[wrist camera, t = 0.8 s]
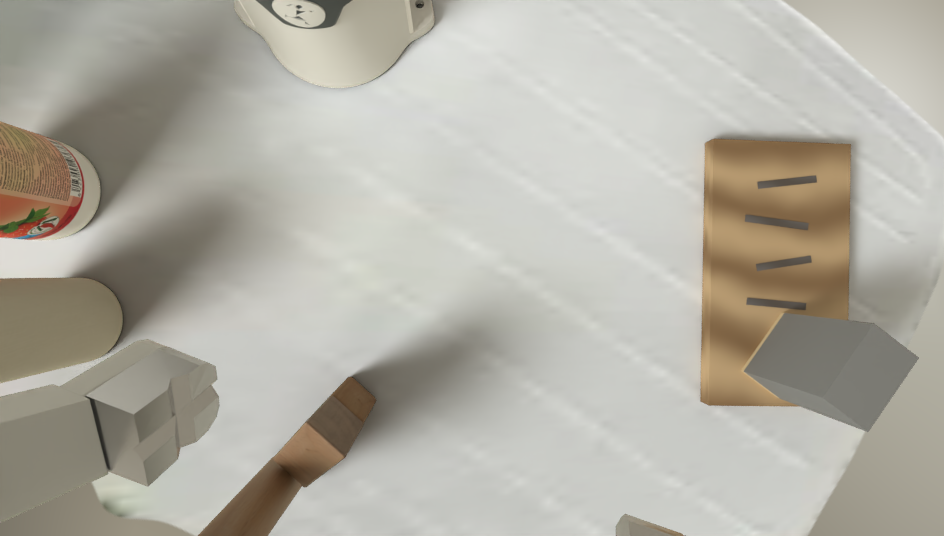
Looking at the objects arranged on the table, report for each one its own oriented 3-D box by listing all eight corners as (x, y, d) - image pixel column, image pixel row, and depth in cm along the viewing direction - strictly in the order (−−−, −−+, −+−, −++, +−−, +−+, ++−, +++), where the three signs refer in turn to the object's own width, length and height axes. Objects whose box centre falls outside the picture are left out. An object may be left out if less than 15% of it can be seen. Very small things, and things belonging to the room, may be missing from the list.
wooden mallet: (378, 399, 46) (332, 481, 28) (301, 482, 45) (204, 621, 27) (350, 373, 45) (285, 439, 27) (273, 457, 45) (156, 579, 27)
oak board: (705, 143, 47) (714, 138, 46) (838, 148, 48) (851, 144, 46) (700, 401, 47) (709, 405, 45) (834, 402, 48) (847, 406, 46)
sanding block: (776, 397, 46) (868, 432, 36) (740, 370, 46) (822, 397, 36) (817, 339, 46) (919, 357, 36) (781, 312, 46) (873, 323, 36)
